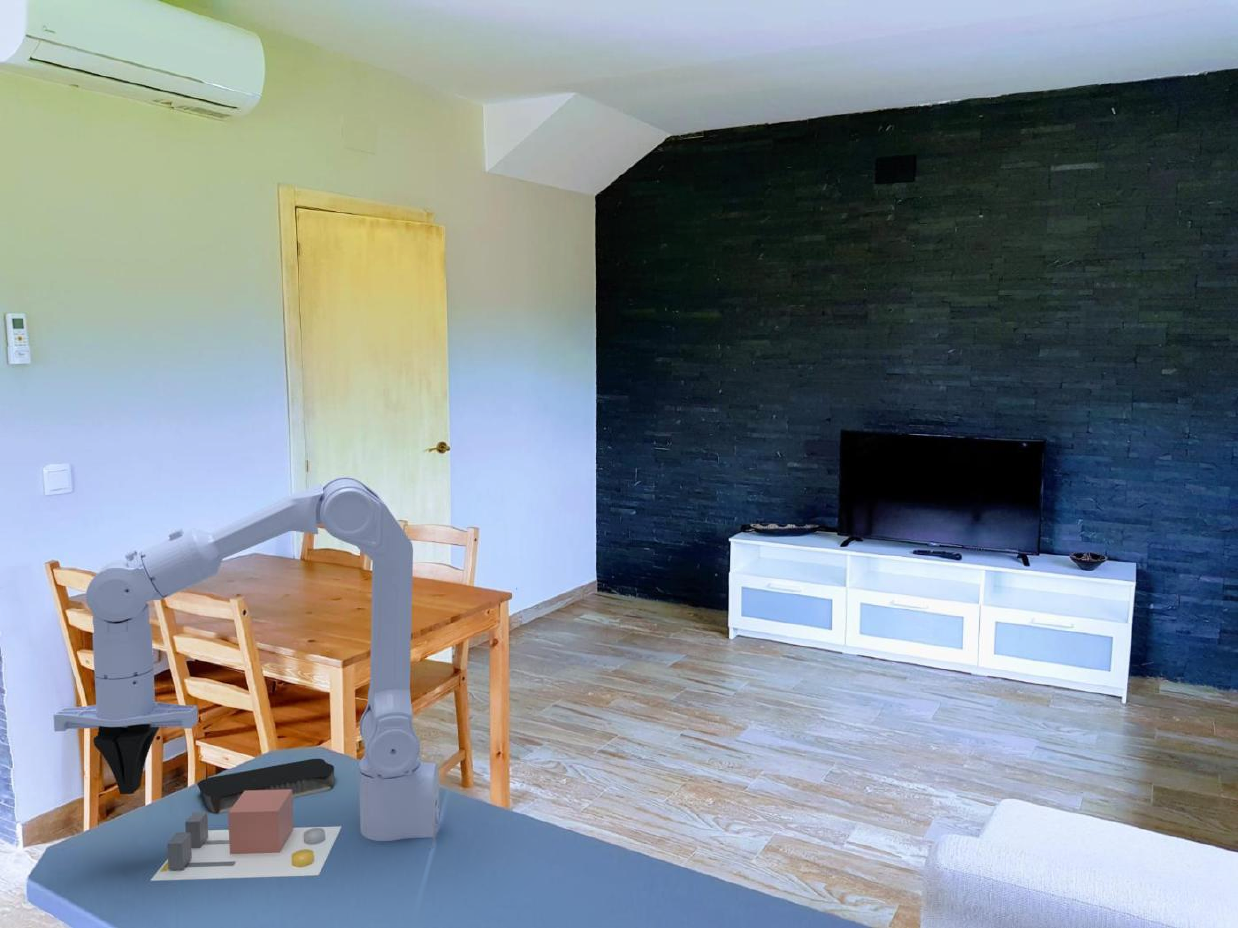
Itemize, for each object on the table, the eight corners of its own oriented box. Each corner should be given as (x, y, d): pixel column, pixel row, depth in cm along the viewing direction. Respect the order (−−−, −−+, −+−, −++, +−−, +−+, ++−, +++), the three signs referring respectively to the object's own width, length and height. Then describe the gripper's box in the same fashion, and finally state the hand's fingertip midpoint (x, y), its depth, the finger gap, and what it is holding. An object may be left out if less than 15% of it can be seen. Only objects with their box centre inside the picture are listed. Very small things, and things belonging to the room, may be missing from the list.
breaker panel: (341, 835, 113) (340, 801, 113) (318, 885, 102) (317, 847, 102) (190, 840, 112) (188, 805, 111) (150, 890, 101) (148, 852, 100)
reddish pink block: (293, 828, 112) (292, 789, 112) (279, 852, 107) (278, 810, 106) (246, 830, 112) (244, 790, 111) (229, 853, 106) (228, 812, 106)
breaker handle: (191, 857, 105) (190, 832, 105) (183, 868, 103) (182, 843, 102) (177, 858, 105) (176, 832, 105) (168, 869, 103) (167, 843, 102)
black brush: (205, 828, 115) (204, 800, 115) (199, 800, 123) (198, 774, 122) (339, 799, 123) (338, 773, 123) (325, 775, 131) (325, 750, 130)
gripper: (206, 658, 106) (210, 772, 107) (74, 660, 105) (81, 775, 106) (181, 678, 99) (186, 800, 100) (40, 681, 98) (47, 804, 99)
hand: (130, 790), depth 103 cm, fingers closed
